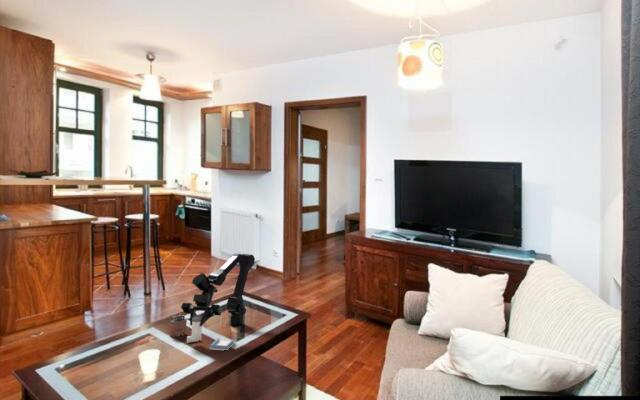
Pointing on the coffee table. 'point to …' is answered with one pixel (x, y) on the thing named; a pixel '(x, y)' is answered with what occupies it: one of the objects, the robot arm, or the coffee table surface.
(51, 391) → the coffee table surface
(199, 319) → the white cylinder
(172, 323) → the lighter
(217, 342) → the blue bay
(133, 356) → the coffee table surface
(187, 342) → the duct rail
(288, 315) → the coffee table surface
